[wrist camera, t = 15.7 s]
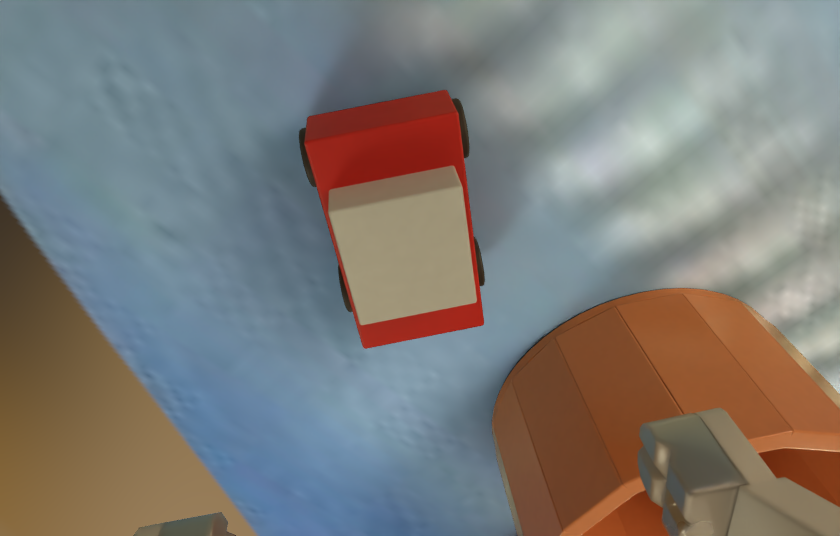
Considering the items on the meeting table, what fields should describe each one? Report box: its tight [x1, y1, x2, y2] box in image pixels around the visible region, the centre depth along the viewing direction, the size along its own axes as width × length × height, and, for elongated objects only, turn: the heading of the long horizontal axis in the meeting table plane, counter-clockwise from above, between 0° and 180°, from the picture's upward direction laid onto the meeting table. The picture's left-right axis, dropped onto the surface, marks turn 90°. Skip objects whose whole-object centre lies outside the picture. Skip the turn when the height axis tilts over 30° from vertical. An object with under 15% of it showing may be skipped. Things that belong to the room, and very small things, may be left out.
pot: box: [492, 288, 840, 536], centre depth 25 cm, size 14×14×8 cm
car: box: [299, 90, 485, 349], centre depth 18 cm, size 8×5×4 cm, turn 9°
